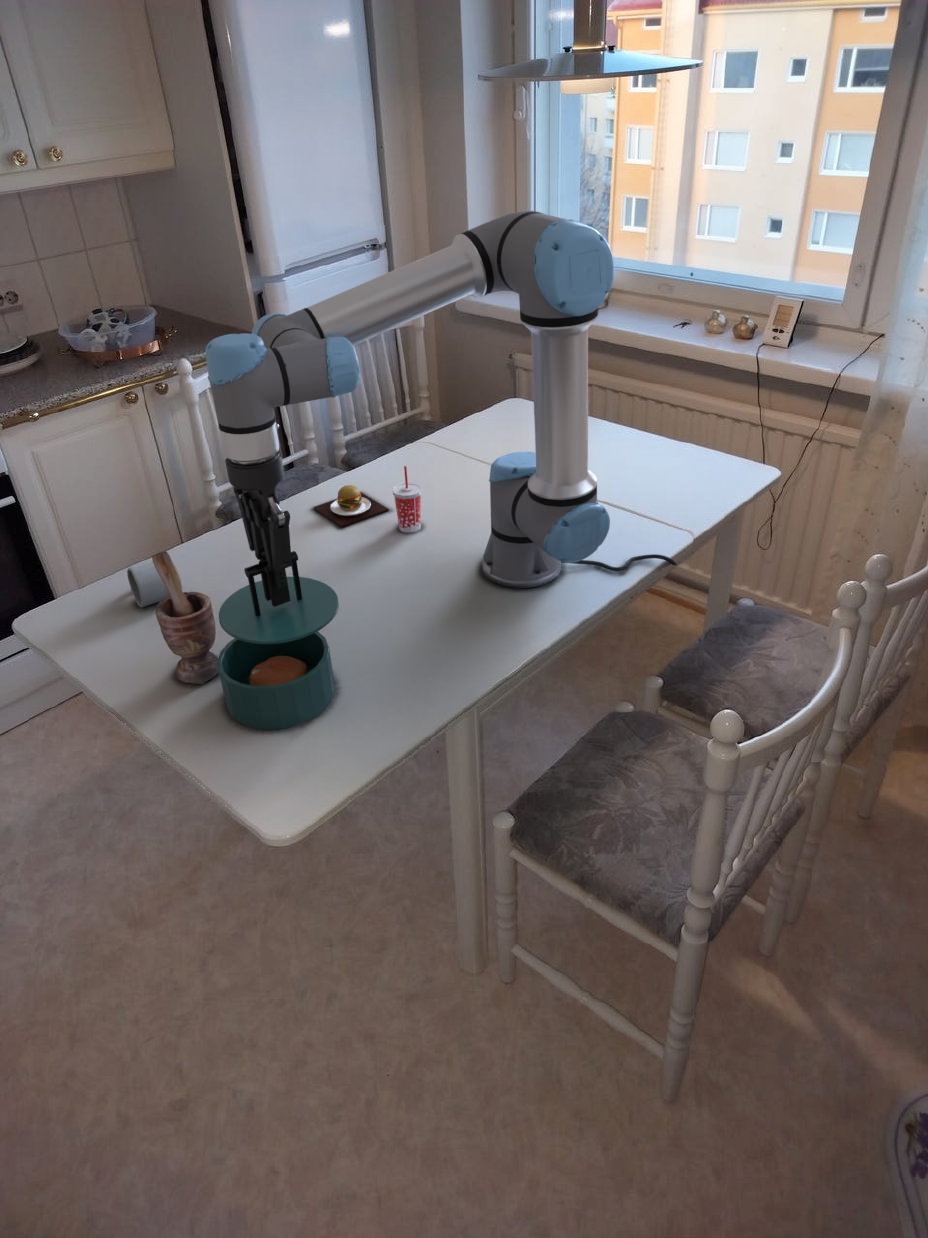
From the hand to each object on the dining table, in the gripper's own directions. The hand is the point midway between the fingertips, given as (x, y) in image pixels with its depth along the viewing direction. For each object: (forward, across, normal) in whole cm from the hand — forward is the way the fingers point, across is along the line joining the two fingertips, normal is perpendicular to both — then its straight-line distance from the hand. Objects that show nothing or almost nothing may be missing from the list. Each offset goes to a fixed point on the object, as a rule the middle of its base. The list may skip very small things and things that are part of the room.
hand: (277, 599), depth 131 cm
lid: (+2, 0, 0) cm, 2 cm away
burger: (+17, 0, +2) cm, 17 cm away
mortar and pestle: (+17, +16, +10) cm, 26 cm away
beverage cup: (+17, +33, -45) cm, 59 cm away
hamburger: (+17, +48, -40) cm, 65 cm away
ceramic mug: (+17, +42, +7) cm, 46 cm away
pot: (+17, 0, +2) cm, 17 cm away
